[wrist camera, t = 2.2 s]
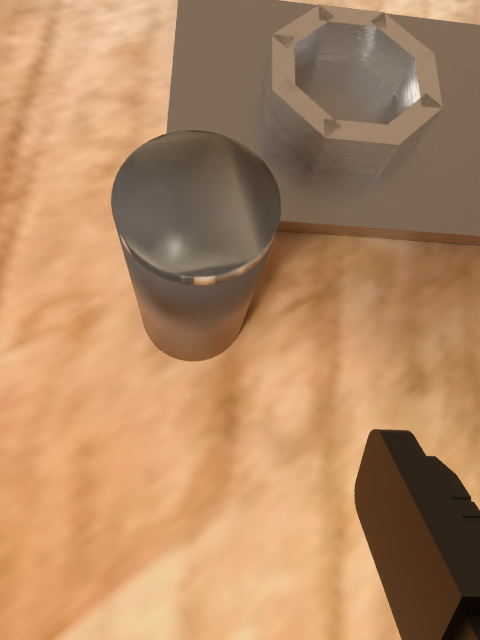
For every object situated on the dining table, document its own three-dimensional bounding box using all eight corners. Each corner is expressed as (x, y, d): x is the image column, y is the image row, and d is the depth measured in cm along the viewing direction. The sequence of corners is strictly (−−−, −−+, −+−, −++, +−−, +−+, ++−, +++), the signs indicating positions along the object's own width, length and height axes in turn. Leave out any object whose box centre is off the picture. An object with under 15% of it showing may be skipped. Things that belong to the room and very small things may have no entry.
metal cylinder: (138, 358, 22) (101, 270, 13) (147, 264, 24) (120, 122, 14) (242, 363, 22) (282, 282, 13) (244, 270, 24) (280, 137, 15)
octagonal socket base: (160, 221, 24) (156, 181, 21) (179, 3, 30) (178, -56, 26) (513, 247, 26) (560, 215, 23) (473, 38, 31) (506, -13, 28)
